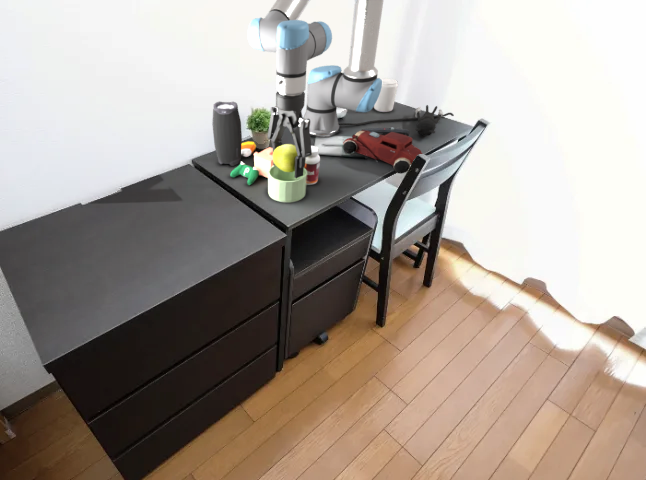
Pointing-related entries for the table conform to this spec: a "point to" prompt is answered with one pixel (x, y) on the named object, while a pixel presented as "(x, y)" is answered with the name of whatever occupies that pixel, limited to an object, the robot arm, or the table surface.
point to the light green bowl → (286, 185)
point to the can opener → (387, 131)
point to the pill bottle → (312, 166)
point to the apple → (285, 157)
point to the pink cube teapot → (264, 161)
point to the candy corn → (247, 148)
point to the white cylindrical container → (386, 95)
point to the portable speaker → (227, 132)
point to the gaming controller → (246, 172)
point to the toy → (427, 121)
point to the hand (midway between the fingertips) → (287, 169)
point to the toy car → (384, 148)
